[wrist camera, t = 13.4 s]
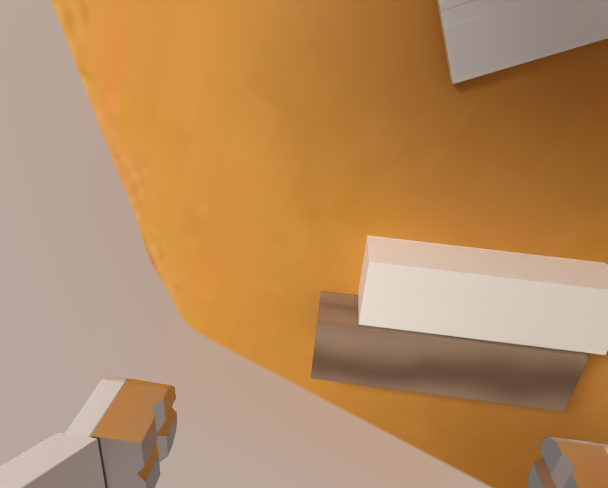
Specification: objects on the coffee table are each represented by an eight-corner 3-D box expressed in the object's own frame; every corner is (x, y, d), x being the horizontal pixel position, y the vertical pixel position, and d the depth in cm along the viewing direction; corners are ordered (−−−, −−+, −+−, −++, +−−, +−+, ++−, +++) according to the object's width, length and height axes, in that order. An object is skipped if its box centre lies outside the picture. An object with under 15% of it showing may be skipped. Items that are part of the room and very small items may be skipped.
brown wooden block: (321, 291, 43) (317, 323, 38) (563, 321, 42) (588, 358, 37) (315, 342, 46) (310, 378, 41) (542, 372, 45) (563, 412, 40)
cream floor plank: (367, 233, 40) (368, 261, 36) (603, 260, 39) (635, 292, 35) (358, 292, 43) (358, 324, 39) (578, 318, 42) (605, 355, 38)
